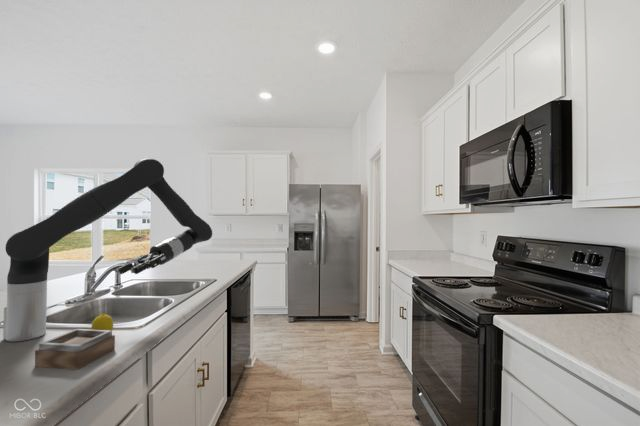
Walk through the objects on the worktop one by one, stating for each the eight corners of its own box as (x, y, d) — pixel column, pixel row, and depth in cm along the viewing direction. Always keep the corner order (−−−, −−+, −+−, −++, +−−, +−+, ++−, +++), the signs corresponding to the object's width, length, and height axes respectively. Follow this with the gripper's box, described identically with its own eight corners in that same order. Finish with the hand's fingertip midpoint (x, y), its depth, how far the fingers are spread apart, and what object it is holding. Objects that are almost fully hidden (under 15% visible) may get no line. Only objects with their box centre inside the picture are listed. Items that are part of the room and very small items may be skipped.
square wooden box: (34, 366, 80) (35, 344, 80) (76, 346, 92) (76, 327, 92) (78, 369, 78) (78, 347, 78) (114, 349, 90) (114, 330, 90)
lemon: (86, 342, 94) (87, 316, 95) (100, 335, 100) (100, 310, 100) (104, 343, 94) (105, 316, 94) (117, 336, 100) (117, 311, 100)
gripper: (151, 242, 121) (110, 262, 107) (176, 240, 114) (135, 260, 100) (158, 260, 123) (118, 281, 109) (183, 259, 116) (144, 281, 102)
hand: (126, 271), depth 105 cm, fingers open, 8 cm apart
